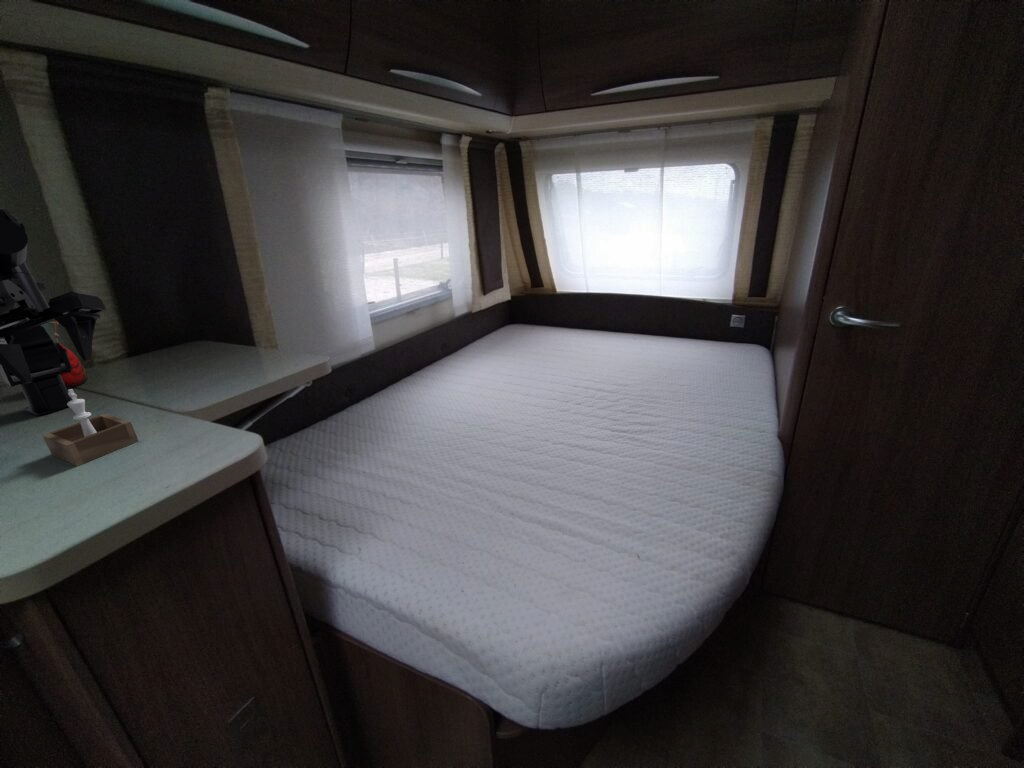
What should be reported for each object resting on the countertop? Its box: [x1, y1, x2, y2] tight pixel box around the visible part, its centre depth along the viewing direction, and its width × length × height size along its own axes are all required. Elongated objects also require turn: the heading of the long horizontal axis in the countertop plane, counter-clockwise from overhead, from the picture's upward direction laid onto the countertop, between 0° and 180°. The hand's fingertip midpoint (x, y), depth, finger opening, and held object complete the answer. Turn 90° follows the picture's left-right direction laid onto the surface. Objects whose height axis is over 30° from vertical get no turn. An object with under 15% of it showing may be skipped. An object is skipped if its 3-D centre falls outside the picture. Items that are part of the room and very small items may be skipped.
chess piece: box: [67, 388, 97, 437], centre depth 69 cm, size 5×5×10 cm
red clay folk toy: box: [48, 320, 88, 389], centre depth 95 cm, size 8×7×15 cm
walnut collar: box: [42, 413, 139, 467], centre depth 70 cm, size 8×8×4 cm
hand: (58, 371), depth 72 cm, fingers open, 9 cm apart
